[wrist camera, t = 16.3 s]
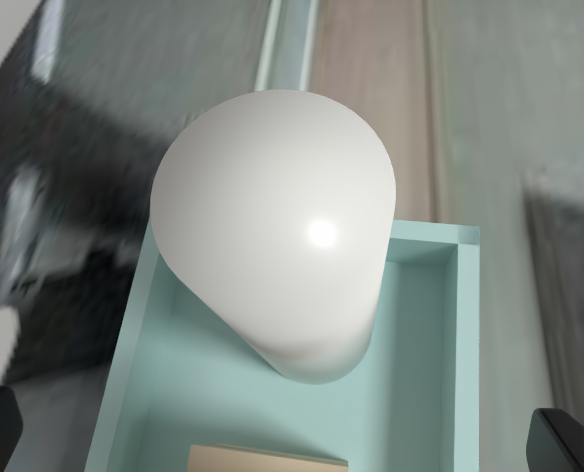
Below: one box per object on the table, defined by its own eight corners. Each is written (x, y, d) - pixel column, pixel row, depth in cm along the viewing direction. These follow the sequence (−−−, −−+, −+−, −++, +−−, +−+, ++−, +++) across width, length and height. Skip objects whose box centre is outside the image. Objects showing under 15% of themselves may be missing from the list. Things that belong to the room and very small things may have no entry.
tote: (454, 674, 18) (477, 725, 15) (92, 601, 20) (42, 632, 17) (461, 256, 23) (479, 226, 20) (178, 230, 25) (153, 199, 22)
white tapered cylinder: (367, 391, 21) (388, 326, 9) (249, 377, 22) (123, 299, 10) (375, 276, 23) (402, 93, 11) (266, 266, 24) (177, 85, 12)
